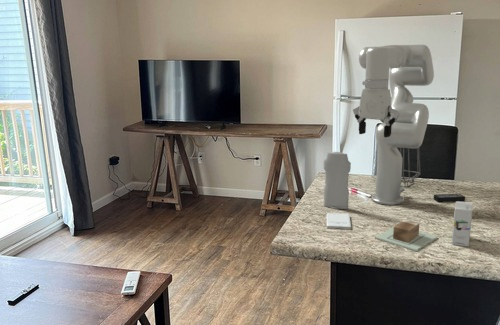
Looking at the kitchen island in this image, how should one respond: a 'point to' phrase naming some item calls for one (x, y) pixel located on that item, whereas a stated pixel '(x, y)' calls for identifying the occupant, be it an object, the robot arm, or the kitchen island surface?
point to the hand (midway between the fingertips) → (374, 135)
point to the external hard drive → (338, 221)
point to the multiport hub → (449, 198)
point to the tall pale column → (336, 180)
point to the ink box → (462, 223)
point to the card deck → (406, 231)
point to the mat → (413, 245)
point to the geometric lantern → (409, 167)
